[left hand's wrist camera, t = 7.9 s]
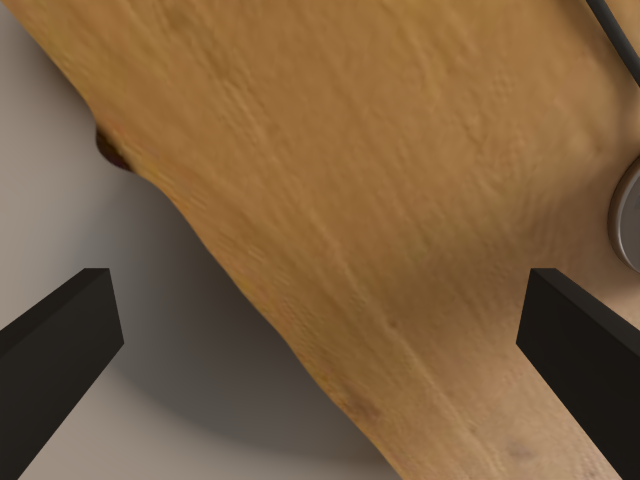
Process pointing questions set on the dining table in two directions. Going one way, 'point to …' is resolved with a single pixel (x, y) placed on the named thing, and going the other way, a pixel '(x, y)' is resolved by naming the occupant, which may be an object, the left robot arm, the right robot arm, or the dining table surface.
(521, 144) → the dining table surface
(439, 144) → the dining table surface
